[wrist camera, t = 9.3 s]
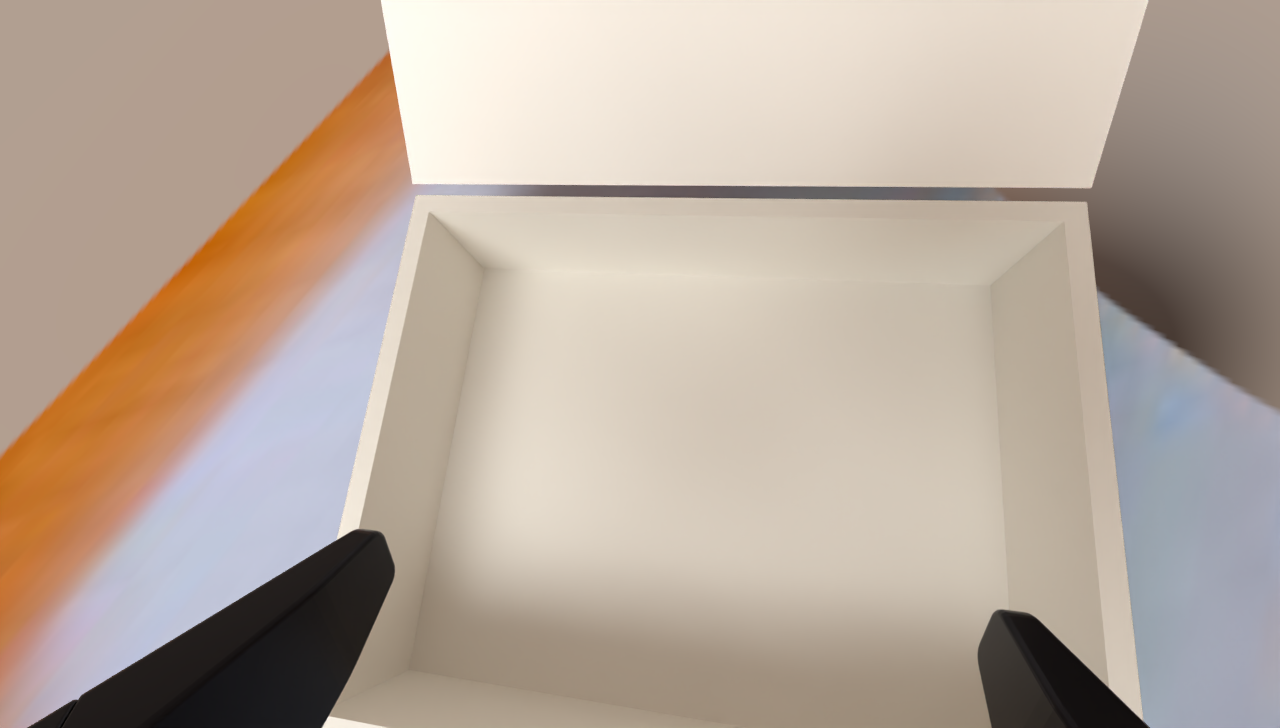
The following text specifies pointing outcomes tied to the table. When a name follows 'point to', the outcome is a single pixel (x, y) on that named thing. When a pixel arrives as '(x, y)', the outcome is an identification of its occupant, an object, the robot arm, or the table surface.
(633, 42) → the box flap
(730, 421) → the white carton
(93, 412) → the table surface
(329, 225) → the table surface
